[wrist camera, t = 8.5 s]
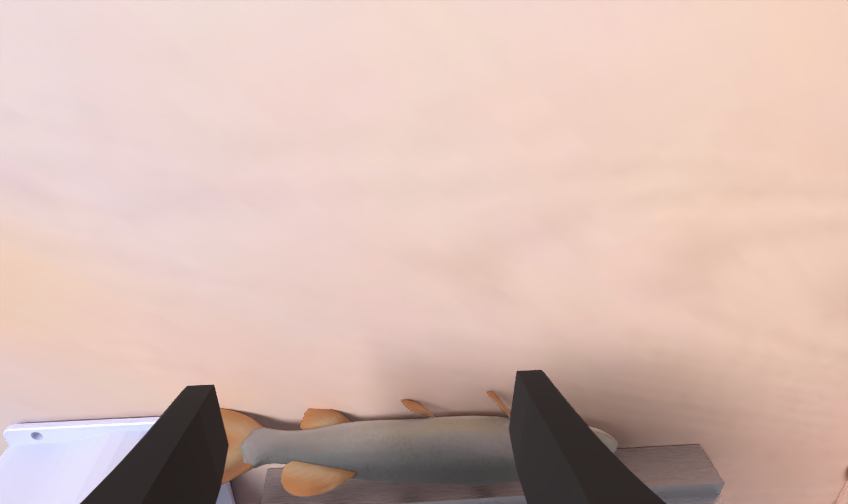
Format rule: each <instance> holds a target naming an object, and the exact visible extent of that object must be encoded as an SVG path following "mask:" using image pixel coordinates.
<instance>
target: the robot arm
mask: <svg viewBox="0 0 848 504" xmlns="http://www.w3.org/2000/svg"><path fill="white" fill-rule="evenodd" d="M509 434H510V439H511V445H512V450H513V455H514V460H515V465H516V470H517V473H518V476H519V480H520V483H521V486H522V489H523V492H524V495H525V499H526V502H527V504H666V503H665V502H664V501H663V500H662V499H661V498H660V497H658V496H657V495H656V494H655V493H654V492H653V491H652V490H651V489H649V488H648V487H647V486H646V485H645V484H644V483H643V482H642V481H641V480H640V479H639V478H638V477H637V476H636V475H635V474H633V473H632V472H631V471H630V470H629V469H628V468H627V467H626V466H625V465H624V464H623V463H622V462H621V461H620V460H619V459H618V458H617V457H616V456H615V455H614V454H613V453H612V451H611V450H610V449H609V448H608V447H607V446H606V445H605V444H604V443H603V442H602V441H601V440H600V439H599V437H598V436H597V435H596V434H595V433H594V432H593V431H592V430H591V429H590V427H589V426H588V425H587V424H586V423H585V422H584V421H583V420H582V418H581V417H580V416H579V415H578V414H577V413H576V411H575V410H574V409H573V408H572V407H571V405H570V404H569V403H568V402H567V401H566V399H565V398H564V397H563V396H562V394H561V393H560V392H559V391H558V389H557V388H556V387H555V386H554V384H553V383H552V382H551V381H550V379H549V378H548V377H547V376H546V374H545V373H544V372H543V371H542V370H531V371H517V373H516V380H515V388H514V395H513V402H512V409H511V417H510V424H509ZM3 436H4V439H5V440H6V442H7V444H8V446H9V447H8V448H7V449H6V450H5V452H4V453H3V455H2V456H1V457H0V504H235V501H234V497H233V493H232V489H231V485H230V481H229V482H227V483H225V484H223V485H221V484H222V479H223V474H224V469H225V463H226V458H227V452H228V447H229V443H228V439H227V435H226V431H225V427H224V423H223V419H222V415H221V411H220V407H219V403H218V399H217V395H216V391H215V387H214V385H197V386H187V387H186V388H185V389H184V390H183V391H182V392H181V393H180V394H179V395H178V397H177V398H176V399H175V400H174V401H173V402H172V404H171V405H170V406H169V407H168V408H167V410H166V411H165V412H164V413H163V414H162V415H161V417H145V418H125V419H104V420H84V421H64V422H44V423H23V424H12V425H10V426H8V427H7V428H6V430H5V431H4V433H3Z"/></svg>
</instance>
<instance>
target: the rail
mask: <svg viewBox="0 0 848 504" xmlns="http://www.w3.org/2000/svg"><path fill="white" fill-rule="evenodd" d="M613 454H614V455H615V456H616V457H617V458H618V459H619V460H620V461H621V462H622V463H623V464H624V465H625V466H626V467H627V468H628V469H629V470H630V471H631V472H632V473H633V474H635V475H636V476H637V477H638V478H639V479H640V480H641V481H642V482H643V483H644V484H645V485H646V486H647V487H648V488H649V489H651V490H652V491H653V492H654V493H655V494H656V495H657V496H658V497H660V498H661V499H662V500H663V501H664V502H665V503H666V504H724V502H723V501H722V499H721V497H720V496H719V494H720V492H721V489H722V487H723V485H724V481H723V480H722V478H721V477H720V475H719V474H718V472H717V470H716V469H715V467H714V466H713V464H712V463H711V461H710V460H709V458H708V457H707V455H706V454H705V452H704V450H703V449H702V447H701V446H700V444H694V445H677V446H660V447H642V448H625V449H616V451H615V452H614V453H613ZM283 469H284V468H277V469H268V470H267V475H266V479H265V484H264V489H263V494H262V499H261V504H527V502H526V499H525V495H524V492H523V489H522V486H521V483H520V482H511V483H505V484H494V485H482V486H462V485H440V484H421V483H394V482H380V481H368V480H360V479H354V478H350V479H349V480H347V481H346V482H344V483H343V484H341V485H339V486H338V487H336V488H335V489H333V490H331V491H329V492H326V493H322V494H318V495H314V496H307V497H306V496H295V495H292V494H290V493H288V492H287V491H286V490H285V489H284V487H283V485H282V481H281V474H282V472H283Z"/></svg>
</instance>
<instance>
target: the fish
mask: <svg viewBox="0 0 848 504" xmlns="http://www.w3.org/2000/svg"><path fill="white" fill-rule="evenodd" d="M487 394H488V396H489V397H490V398H491V399H492V400H493V401H494V402H495V403H496V404H497V405H498V406H499V407H500V408H501V409H502V410H503V411H504V412H505V413H506V415H507V416H508V417H496V416H451V417H435V416H434V415H433V413H432V412H431V411H430V410H428V409H427V408H426V407H424V406H423V405H421V404H419V403H417V402H414V401H411V400H401V402H402V403H403V404H404V405H405V406H406V407H407V408H408V409H410V410H411V411H413V412H416V413H420V414H424V415H427V416H429V417H431V418H417V419H400V420H370V421H357V422H350V421H349V420H348V419H347V418H346V417H345V416H343V415H342V414H341V413H339V412H337V411H335V410H333V409H312V408H310V409H308V410H307V411H306V412H305V413H304V417H303V420H302V421H301V424H300V428H301V430H288V431H286V430H277V429H271V428H265V427H263V426H262V425H261V424H260V423H258V422H257V421H256V420H254V419H252V418H251V417H249V416H247V415H244V414H242V413H239V412H236V411H232V410H227V409H220V411H221V415H222V419H223V423H224V427H225V431H226V435H227V439H228V443H229V447H228V452H227V458H226V463H225V469H224V474H223V479H222V484H221V485H223V484H225V483H227V482H229V481H231V480H232V479H234V478H236V477H238V476H240V475H241V474H243V473H245V472H247V471H249V470H251V469H252V468H257V467H259V466H261V465H264V464H271V463H278V464H287V465H286V466H285V467H284V469H283V472H282V474H281V481H282V485H283V487H284V489H285V490H286V491H287V492H288V493H290V494H292V495H295V496H306V497H307V496H314V495H318V494H322V493H326V492H329V491H331V490H333V489H335V488H336V487H338V486H339V485H341V484H343V483H344V482H346V481H347V480H349V479H350V478H354V479H360V480H368V481H380V482H394V483H421V484H440V485H462V486H482V485H494V484H505V483H511V482H520V480H519V476H518V473H517V470H516V465H515V460H514V455H513V450H512V445H511V439H510V434H509V424H510V417H511V414H510V412H509V411H508V409H507V407H506V406H505V405H504V403H503V402H502V400H501V399H500V398H499V397H498V396H497V395H496V394H495V393H494V392H492V391H487ZM589 427H590V426H589ZM590 429H591V430H592V431H593V432H594V433H595V434H596V435H597V436H598V437H599V439H600V440H601V441H602V442H603V443H604V444H605V445H606V446H607V447H608V448H609V449H610V450H611V451H612V453H614V452H615V451H616V449H617V446H618V443H617V441H616V440H615V439H614V438H613V437H612V436H611V435H609V434H608V433H606V432H604V431H602V430H600V429H597V428H594V427H590Z"/></svg>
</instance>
